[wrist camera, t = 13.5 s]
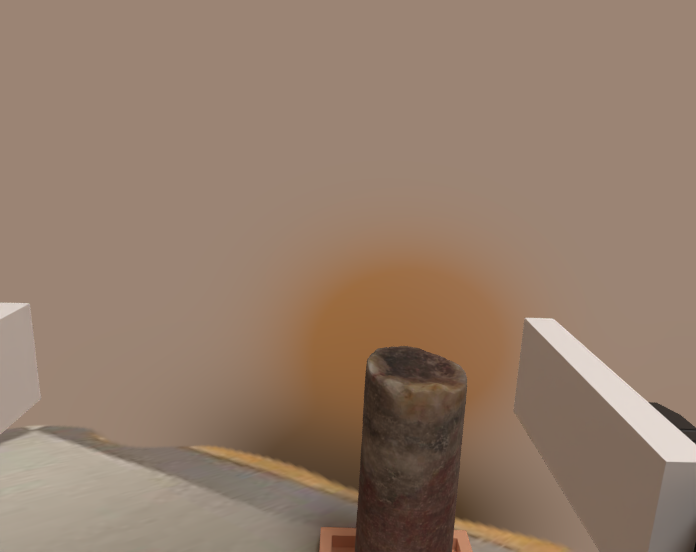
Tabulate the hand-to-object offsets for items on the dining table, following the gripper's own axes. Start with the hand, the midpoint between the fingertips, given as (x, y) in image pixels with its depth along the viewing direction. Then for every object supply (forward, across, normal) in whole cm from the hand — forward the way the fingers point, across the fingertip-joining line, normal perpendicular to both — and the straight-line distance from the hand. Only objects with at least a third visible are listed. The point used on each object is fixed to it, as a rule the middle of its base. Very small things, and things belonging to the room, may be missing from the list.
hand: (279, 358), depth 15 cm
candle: (+22, +7, -30) cm, 37 cm away
